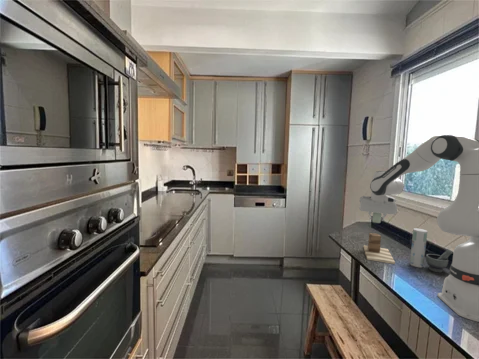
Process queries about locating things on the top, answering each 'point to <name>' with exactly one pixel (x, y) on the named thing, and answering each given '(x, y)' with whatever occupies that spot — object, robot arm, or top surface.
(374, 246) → the base block
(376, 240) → the top block
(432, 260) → the mortar and pestle
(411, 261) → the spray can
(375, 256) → the board
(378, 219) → the canister
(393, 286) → the top surface
